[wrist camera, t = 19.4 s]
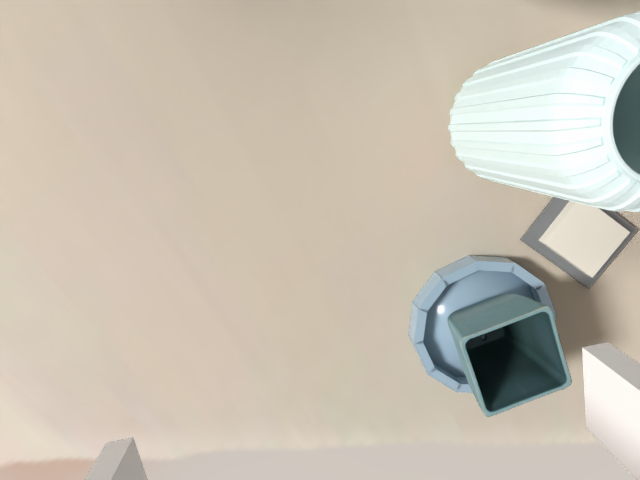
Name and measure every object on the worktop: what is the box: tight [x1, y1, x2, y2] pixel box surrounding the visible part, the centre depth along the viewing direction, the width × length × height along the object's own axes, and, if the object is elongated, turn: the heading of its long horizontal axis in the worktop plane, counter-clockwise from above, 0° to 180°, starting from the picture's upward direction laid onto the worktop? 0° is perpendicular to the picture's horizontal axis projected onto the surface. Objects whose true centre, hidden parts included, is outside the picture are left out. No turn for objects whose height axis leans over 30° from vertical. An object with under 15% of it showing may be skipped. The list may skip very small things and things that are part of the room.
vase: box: [448, 12, 640, 212], centre depth 35 cm, size 12×12×22 cm
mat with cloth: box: [520, 197, 638, 289], centre depth 48 cm, size 10×8×2 cm
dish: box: [409, 255, 556, 393], centre depth 49 cm, size 15×15×2 cm
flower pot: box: [448, 293, 572, 417], centre depth 46 cm, size 9×9×9 cm
